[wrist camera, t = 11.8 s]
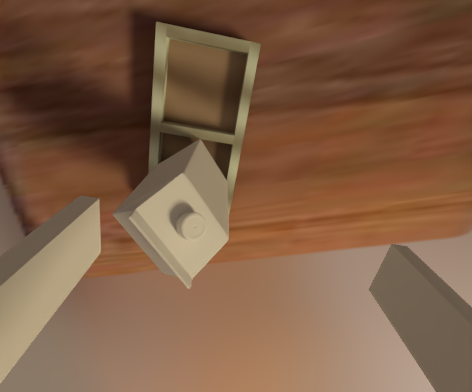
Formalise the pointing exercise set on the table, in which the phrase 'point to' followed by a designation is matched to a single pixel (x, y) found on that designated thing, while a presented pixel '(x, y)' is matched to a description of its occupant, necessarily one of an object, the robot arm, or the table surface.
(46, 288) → the robot arm
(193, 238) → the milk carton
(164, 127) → the board
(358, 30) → the table surface
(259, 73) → the table surface
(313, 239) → the table surface
